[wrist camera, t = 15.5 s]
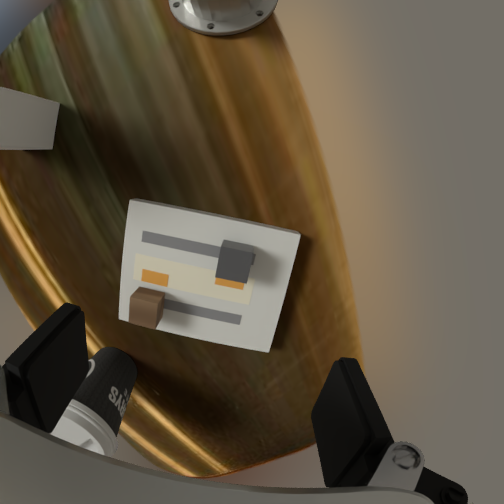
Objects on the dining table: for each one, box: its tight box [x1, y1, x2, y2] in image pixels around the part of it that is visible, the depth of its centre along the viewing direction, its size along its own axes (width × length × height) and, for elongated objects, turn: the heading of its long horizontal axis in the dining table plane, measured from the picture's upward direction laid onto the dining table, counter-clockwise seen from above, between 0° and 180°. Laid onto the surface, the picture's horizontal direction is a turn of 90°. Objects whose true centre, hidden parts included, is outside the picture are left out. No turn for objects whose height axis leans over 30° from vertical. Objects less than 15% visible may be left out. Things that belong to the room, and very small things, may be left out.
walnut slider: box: [128, 286, 165, 329], centre depth 31 cm, size 3×3×3 cm
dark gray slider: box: [215, 240, 254, 284], centre depth 30 cm, size 3×3×3 cm
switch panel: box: [119, 198, 301, 352], centre depth 33 cm, size 14×18×2 cm
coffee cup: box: [48, 347, 137, 457], centre depth 30 cm, size 10×10×15 cm
